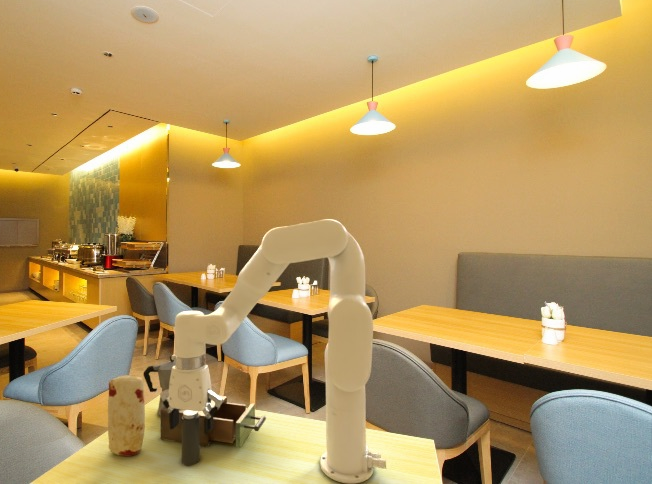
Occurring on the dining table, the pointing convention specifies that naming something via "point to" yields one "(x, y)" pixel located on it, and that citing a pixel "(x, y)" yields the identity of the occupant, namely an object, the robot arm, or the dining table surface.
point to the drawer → (234, 423)
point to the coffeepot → (160, 377)
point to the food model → (126, 415)
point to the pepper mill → (190, 437)
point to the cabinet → (177, 431)
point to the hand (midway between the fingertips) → (191, 429)
